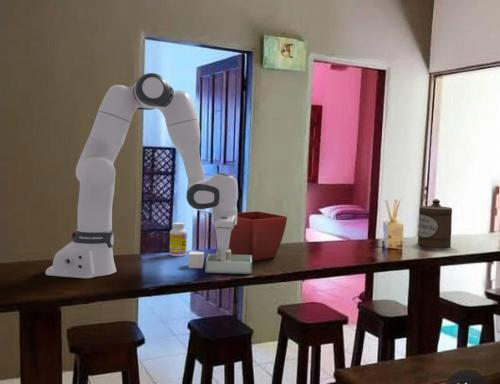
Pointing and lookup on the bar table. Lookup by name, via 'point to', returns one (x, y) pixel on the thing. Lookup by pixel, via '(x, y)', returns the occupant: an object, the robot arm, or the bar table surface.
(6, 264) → the bar table surface
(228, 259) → the beech block
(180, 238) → the supplement bottle
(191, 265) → the white cube
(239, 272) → the tray
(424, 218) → the wooden container
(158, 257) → the bar table surface
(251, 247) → the plant pot
